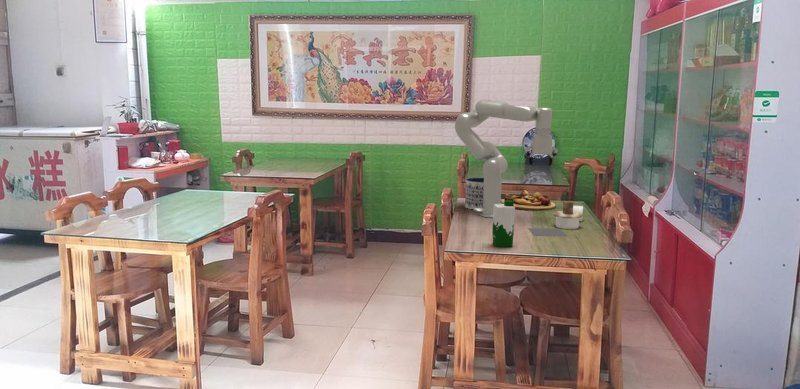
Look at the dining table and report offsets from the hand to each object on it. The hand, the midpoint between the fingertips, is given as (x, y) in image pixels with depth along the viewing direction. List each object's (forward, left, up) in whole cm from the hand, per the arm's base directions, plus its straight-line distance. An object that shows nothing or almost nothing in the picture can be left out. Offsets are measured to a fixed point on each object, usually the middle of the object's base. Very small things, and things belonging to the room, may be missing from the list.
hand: (540, 165), depth 326 cm
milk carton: (-27, -52, -30) cm, 66 cm away
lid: (+12, -14, -24) cm, 30 cm away
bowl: (+12, -14, -30) cm, 35 cm away
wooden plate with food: (+4, +44, -30) cm, 53 cm away
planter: (-25, +35, -30) cm, 52 cm away
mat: (-1, -27, -30) cm, 40 cm away
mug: (+20, +5, -30) cm, 36 cm away
